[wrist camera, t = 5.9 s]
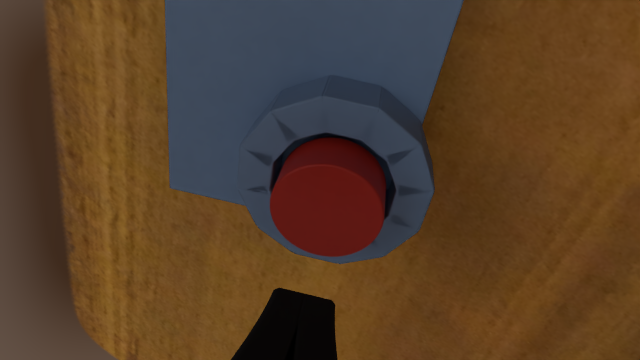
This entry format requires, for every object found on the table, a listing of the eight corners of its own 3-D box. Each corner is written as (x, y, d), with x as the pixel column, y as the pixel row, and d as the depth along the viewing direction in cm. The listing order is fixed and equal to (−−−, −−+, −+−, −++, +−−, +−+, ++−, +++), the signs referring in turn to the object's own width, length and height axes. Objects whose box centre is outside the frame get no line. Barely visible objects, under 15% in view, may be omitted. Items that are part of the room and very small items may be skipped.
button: (372, 234, 16) (369, 268, 15) (276, 212, 16) (263, 243, 15) (398, 150, 14) (398, 180, 13) (288, 125, 14) (275, 152, 13)
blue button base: (401, 221, 20) (401, 279, 17) (185, 171, 20) (149, 220, 17) (516, -107, 13) (549, -104, 10) (185, -174, 13) (123, -191, 10)
